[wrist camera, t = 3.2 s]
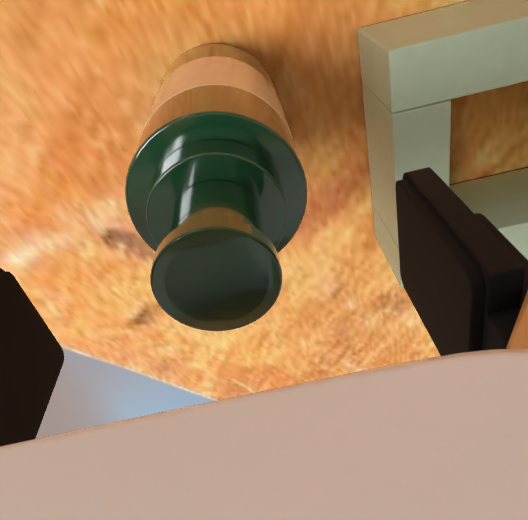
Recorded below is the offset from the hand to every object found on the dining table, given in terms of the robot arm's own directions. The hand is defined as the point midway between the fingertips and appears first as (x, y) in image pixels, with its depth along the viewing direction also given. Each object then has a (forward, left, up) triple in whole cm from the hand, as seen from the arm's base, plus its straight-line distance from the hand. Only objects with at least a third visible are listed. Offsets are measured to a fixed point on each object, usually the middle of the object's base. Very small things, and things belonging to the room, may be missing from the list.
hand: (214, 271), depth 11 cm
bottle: (0, 0, -12) cm, 12 cm away
